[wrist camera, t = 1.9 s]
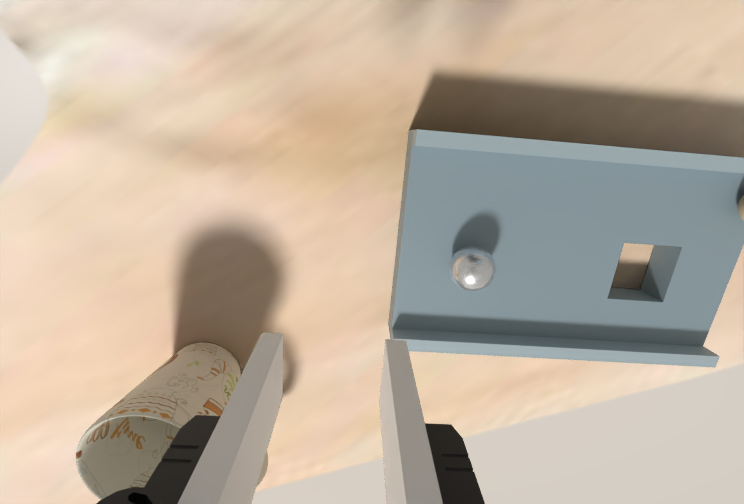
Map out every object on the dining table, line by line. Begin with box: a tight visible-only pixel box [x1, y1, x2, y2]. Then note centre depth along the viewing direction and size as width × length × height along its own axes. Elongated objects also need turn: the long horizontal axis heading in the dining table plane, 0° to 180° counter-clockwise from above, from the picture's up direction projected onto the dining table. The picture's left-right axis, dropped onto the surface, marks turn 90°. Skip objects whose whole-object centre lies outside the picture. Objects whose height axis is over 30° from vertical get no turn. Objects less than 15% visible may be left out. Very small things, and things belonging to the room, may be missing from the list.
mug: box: [76, 343, 268, 499], centre depth 28 cm, size 8×13×10 cm, turn 47°
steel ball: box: [449, 246, 496, 291], centre depth 26 cm, size 3×3×3 cm
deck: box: [388, 129, 744, 367], centre depth 28 cm, size 16×26×4 cm, turn 85°
